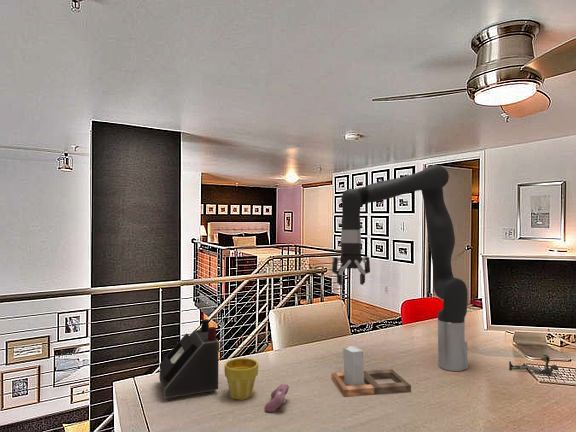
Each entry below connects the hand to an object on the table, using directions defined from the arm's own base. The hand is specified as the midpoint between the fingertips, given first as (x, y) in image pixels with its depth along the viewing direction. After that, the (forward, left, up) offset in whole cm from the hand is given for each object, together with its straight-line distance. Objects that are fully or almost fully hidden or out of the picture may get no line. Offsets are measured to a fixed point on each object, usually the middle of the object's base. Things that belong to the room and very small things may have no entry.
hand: (351, 284), depth 148 cm
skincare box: (+6, +19, -30) cm, 36 cm away
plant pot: (+42, +20, -30) cm, 56 cm away
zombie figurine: (-62, +17, -30) cm, 71 cm away
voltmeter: (+59, +12, -30) cm, 67 cm away
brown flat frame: (0, +19, -30) cm, 36 cm away
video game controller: (+32, +29, -30) cm, 53 cm away
